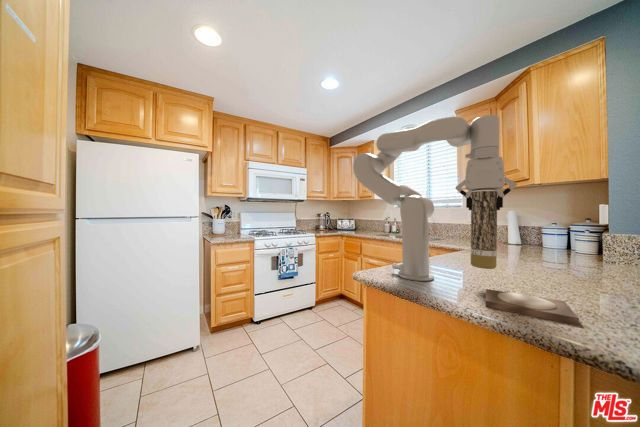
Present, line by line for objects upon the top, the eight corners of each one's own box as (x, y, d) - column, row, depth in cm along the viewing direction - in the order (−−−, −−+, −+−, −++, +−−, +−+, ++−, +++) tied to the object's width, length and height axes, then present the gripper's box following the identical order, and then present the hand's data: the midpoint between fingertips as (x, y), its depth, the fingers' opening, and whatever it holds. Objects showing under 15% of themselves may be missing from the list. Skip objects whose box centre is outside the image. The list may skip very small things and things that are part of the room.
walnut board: (485, 306, 57) (485, 299, 57) (486, 293, 66) (486, 287, 67) (579, 325, 47) (578, 316, 47) (564, 307, 57) (564, 300, 57)
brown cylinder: (487, 265, 75) (488, 191, 75) (501, 270, 68) (502, 189, 68) (466, 264, 76) (467, 191, 76) (478, 269, 69) (479, 189, 69)
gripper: (452, 156, 74) (451, 209, 74) (521, 148, 64) (520, 209, 64) (454, 161, 80) (454, 210, 80) (518, 154, 70) (518, 210, 70)
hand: (483, 209), depth 72 cm, fingers closed on brown cylinder, 6 cm apart
